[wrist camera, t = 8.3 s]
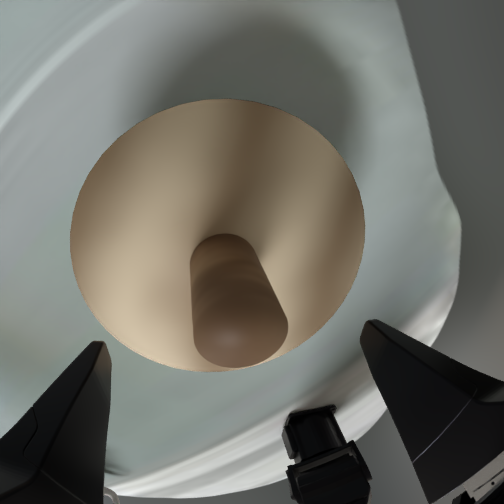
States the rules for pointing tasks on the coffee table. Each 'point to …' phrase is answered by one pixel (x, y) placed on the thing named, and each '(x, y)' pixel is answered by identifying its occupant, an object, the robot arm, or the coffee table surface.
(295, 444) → the robot arm
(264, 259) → the lid
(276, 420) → the coffee table surface
